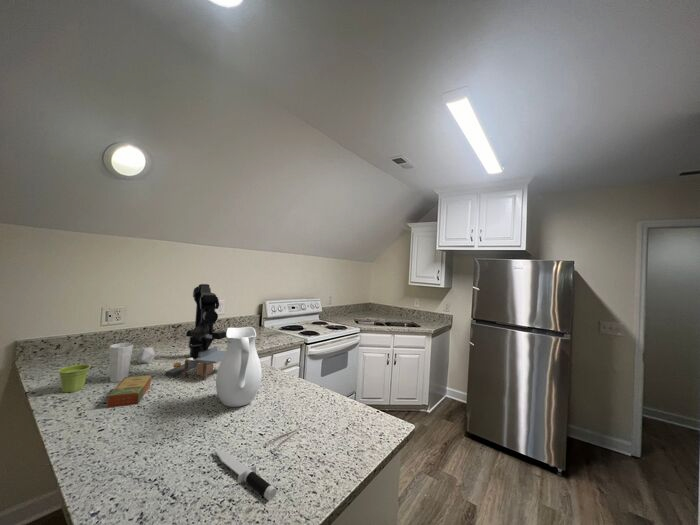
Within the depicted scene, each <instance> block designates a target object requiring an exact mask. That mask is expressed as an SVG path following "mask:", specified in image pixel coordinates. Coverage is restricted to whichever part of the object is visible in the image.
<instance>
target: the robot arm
mask: <svg viewBox="0 0 700 525" xmlns="http://www.w3.org/2000/svg"><path fill="white" fill-rule="evenodd" d="M192 298H193V300H194V302H195V304H196V306H195V319H194V320H195V321H194V328H191V329H189V330H187V331H186V335H185V336H186V337H189V339H188V348H189V356H187V358H193V360H195V359H197V358H198V353H199V352H202V351H205V350H207V349H210V346H211V344H212V343H213V341H214V340H222V339H225V338H227V337H226V332H227V331H224V330H223V331H221V330H218V331H215V330H216V329H215V328H214V324H216V321H217V320H218V319H219V318H218V317H219V314H218V313H217V311H216V310H218V309H219V307H220V300H219V298H218V296H217V294H215V293H213V292H212V290H211V287H210V284H208V283H201V284H198V286H196V287H194V288H193V291H192Z"/></svg>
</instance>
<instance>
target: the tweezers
mask: <svg viewBox="0 0 700 525" xmlns="http://www.w3.org/2000/svg"><path fill="white" fill-rule="evenodd" d="M301 430H302V428H301V427H300V428H297V429H294V430H291V431H289V432H286V433H283V434H280V435H277V436H276V437H274V438H272V439H270V440H268V441H266V442H264V444H263V447H264V448H265V447H266V448H267V447H268V446H269V445H272V444H273V443H275V441H276V442H277V441H279V440H281V439H283V440H282V441H280V442H279V443H278V444H277V445H276V446H275V447H273V448H270V452H272V453H274V452H275V451H277V449H279V448H280V447H281V446H282V445H283V444H284V443H286V441H288V440H289V439H291V438H292V437H294V435H296V434H297V433H299V431H301ZM288 435H289V436H288ZM285 437H286V438H285ZM279 446H280V447H279ZM278 447H279V448H278ZM273 450H274V451H273Z"/></svg>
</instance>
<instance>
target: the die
mask: <svg viewBox="0 0 700 525" xmlns="http://www.w3.org/2000/svg"><path fill="white" fill-rule="evenodd" d="M134 357H135V360H136V362H137V364H138V365H142V364H143V365H144V364H150V363H151V362H152V361H153V360H154V358H155V357H156V352H155V350H154V347H153V346H149V347H141V348H140V349H139V350H138V351H137V352H136V353H135V354H134Z"/></svg>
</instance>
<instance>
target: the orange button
mask: <svg viewBox="0 0 700 525" xmlns="http://www.w3.org/2000/svg"><path fill="white" fill-rule="evenodd" d="M181 365H182V363H181V362H175V363H173V368H175V367H180V366H181Z"/></svg>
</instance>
